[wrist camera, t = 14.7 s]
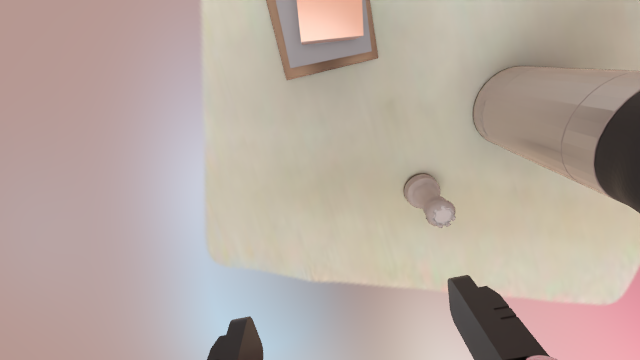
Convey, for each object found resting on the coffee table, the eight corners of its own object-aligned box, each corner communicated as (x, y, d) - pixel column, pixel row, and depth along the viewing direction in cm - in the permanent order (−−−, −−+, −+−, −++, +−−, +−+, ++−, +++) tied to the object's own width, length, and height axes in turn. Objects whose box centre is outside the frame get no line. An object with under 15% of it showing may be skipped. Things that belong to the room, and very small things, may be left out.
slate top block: (354, -37, 30) (359, -47, 27) (366, 51, 33) (371, 51, 30) (273, -19, 30) (269, -27, 27) (292, 67, 33) (290, 68, 30)
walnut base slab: (357, -44, 32) (361, -54, 29) (372, 57, 36) (378, 57, 33) (263, -20, 33) (259, -27, 30) (288, 78, 36) (286, 80, 34)
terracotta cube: (351, -22, 28) (360, -39, 23) (354, 39, 30) (363, 35, 25) (295, -17, 28) (293, -32, 23) (301, 44, 30) (301, 41, 25)
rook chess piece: (398, 180, 41) (418, 207, 33) (431, 167, 40) (459, 192, 33) (408, 208, 42) (429, 240, 35) (440, 196, 42) (468, 226, 34)
